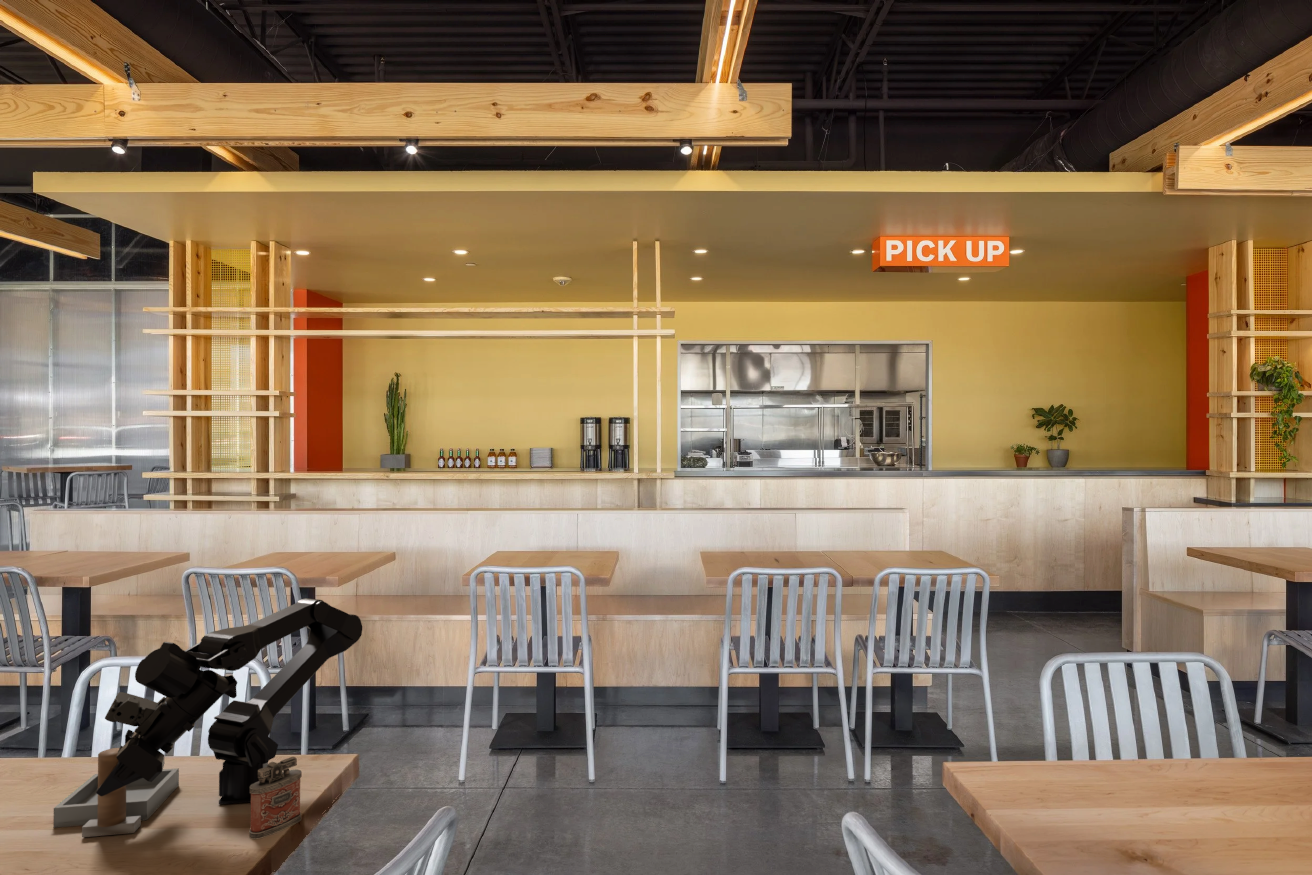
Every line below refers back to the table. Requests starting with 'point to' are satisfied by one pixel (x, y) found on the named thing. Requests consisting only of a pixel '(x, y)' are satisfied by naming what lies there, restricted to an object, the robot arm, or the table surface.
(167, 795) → the tray
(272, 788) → the lighter
